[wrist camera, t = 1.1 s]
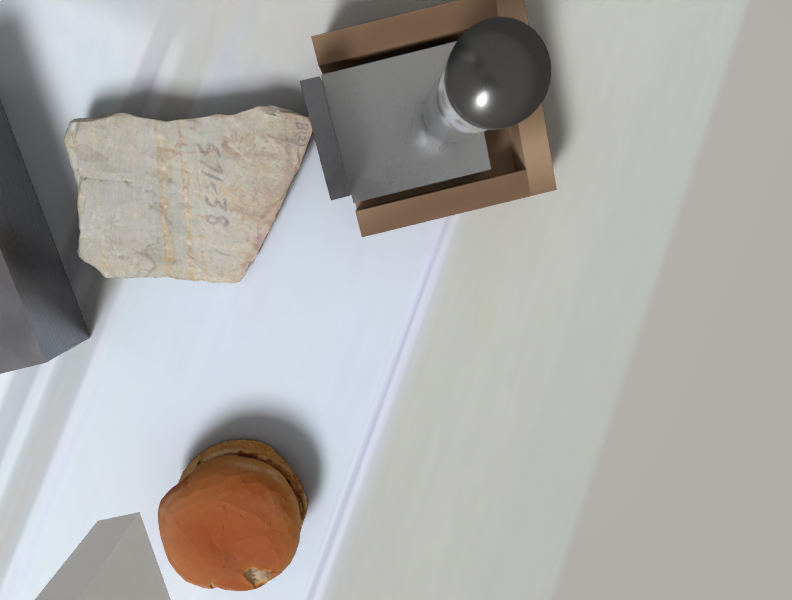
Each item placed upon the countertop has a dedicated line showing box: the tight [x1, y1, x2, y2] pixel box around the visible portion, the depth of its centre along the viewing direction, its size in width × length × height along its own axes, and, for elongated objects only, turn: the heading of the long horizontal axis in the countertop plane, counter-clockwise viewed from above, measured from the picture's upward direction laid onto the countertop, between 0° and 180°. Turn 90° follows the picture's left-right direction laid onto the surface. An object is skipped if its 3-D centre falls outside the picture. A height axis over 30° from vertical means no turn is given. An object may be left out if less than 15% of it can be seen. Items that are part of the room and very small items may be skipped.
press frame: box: [311, 0, 557, 237], centre depth 32 cm, size 11×12×4 cm
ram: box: [300, 17, 551, 203], centre depth 26 cm, size 7×9×14 cm
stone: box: [64, 105, 313, 283], centre depth 34 cm, size 15×11×3 cm
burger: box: [158, 439, 308, 591], centre depth 37 cm, size 10×9×5 cm
